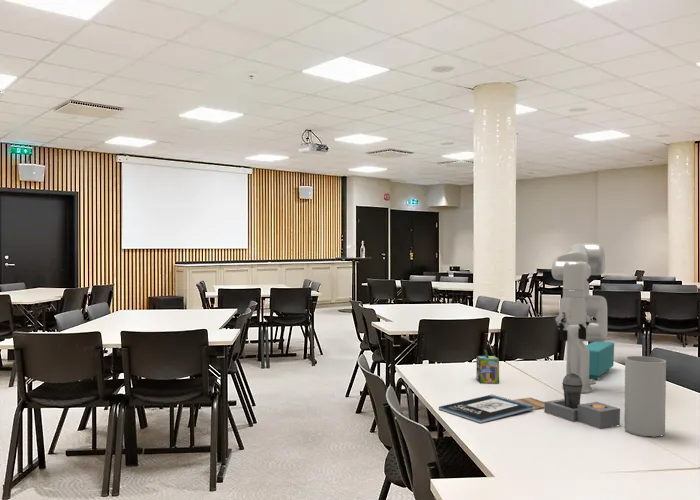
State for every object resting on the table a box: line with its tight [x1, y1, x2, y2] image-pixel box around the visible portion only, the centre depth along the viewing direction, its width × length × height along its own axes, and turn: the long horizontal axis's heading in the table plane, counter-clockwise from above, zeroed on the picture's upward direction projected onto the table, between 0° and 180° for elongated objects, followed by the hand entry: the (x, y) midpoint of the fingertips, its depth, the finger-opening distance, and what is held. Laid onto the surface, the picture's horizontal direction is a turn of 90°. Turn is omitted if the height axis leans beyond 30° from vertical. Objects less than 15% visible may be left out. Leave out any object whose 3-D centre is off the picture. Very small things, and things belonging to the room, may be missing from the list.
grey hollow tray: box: [544, 398, 621, 430], centre depth 217 cm, size 13×24×6 cm, turn 27°
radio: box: [585, 341, 615, 380], centre depth 296 cm, size 34×10×15 cm, turn 144°
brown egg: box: [593, 404, 605, 409], centre depth 211 cm, size 4×4×4 cm
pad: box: [511, 397, 546, 412], centre depth 236 cm, size 14×14×1 cm
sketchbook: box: [438, 393, 533, 424], centre depth 226 cm, size 22×30×2 cm
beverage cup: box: [562, 362, 583, 409], centre depth 222 cm, size 7×7×20 cm
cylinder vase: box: [623, 355, 667, 437], centre depth 201 cm, size 12×12×25 cm
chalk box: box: [475, 349, 500, 384], centre depth 277 cm, size 9×9×15 cm
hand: (572, 339), depth 221 cm, fingers open, 9 cm apart
